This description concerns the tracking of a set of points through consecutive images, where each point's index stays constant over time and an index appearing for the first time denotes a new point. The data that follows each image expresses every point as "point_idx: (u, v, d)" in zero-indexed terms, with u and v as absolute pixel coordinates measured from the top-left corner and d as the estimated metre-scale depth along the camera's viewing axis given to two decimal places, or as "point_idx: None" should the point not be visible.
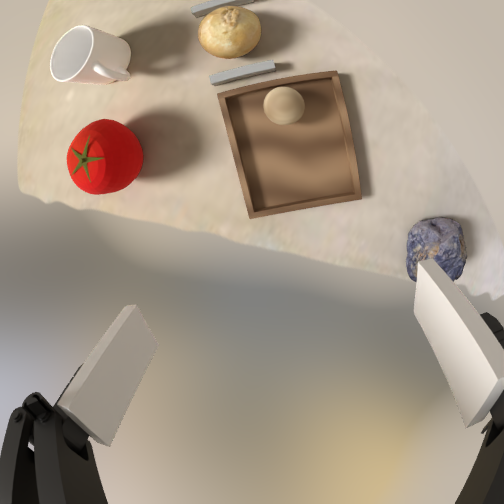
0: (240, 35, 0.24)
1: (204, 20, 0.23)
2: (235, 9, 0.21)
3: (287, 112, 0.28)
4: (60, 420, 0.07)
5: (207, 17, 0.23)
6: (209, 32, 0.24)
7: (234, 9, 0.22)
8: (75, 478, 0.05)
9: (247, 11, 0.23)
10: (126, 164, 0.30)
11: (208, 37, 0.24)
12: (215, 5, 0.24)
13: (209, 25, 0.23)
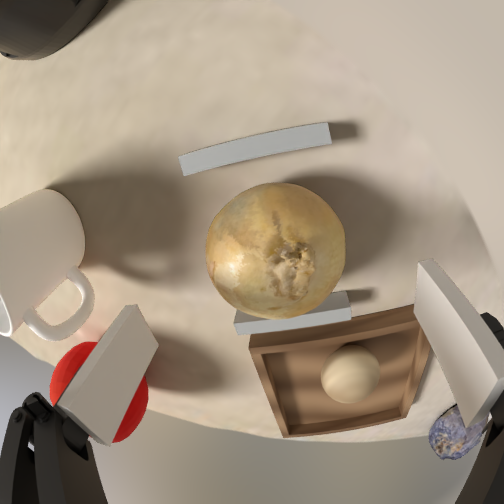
0: (306, 308, 0.14)
1: (220, 253, 0.13)
2: (306, 257, 0.11)
3: (355, 402, 0.18)
4: (60, 420, 0.07)
5: (227, 247, 0.13)
6: (236, 298, 0.14)
7: (303, 256, 0.12)
8: (75, 478, 0.05)
9: (329, 236, 0.13)
10: (133, 424, 0.21)
11: (234, 302, 0.14)
12: (238, 161, 0.14)
13: (235, 283, 0.13)
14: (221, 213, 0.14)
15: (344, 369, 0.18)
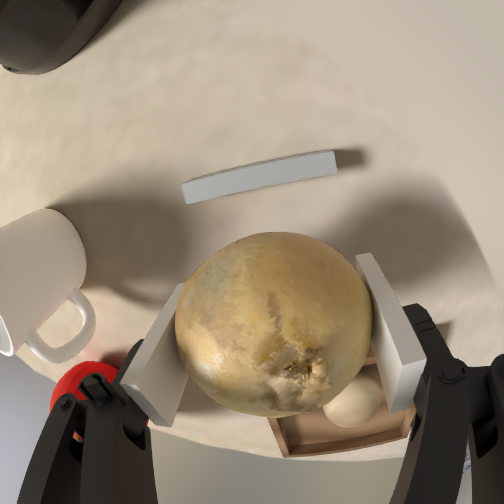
0: None
1: (190, 346, 0.08)
2: (320, 373, 0.07)
3: (356, 426, 0.17)
4: (121, 405, 0.07)
5: (199, 341, 0.08)
6: (217, 400, 0.09)
7: (315, 372, 0.07)
8: (129, 473, 0.05)
9: (355, 327, 0.08)
10: None
11: (215, 400, 0.09)
12: None
13: (213, 388, 0.08)
14: (192, 282, 0.09)
15: (345, 395, 0.17)
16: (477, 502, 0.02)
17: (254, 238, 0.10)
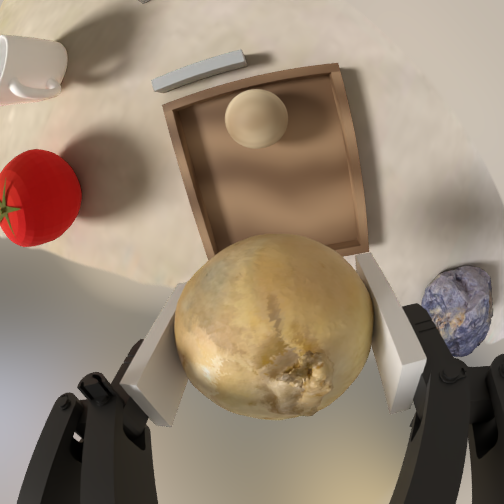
0: None
1: (189, 349, 0.08)
2: (320, 376, 0.07)
3: (258, 130, 0.18)
4: (120, 404, 0.07)
5: (199, 344, 0.08)
6: (216, 403, 0.09)
7: (316, 375, 0.07)
8: (129, 473, 0.05)
9: (355, 330, 0.08)
10: (51, 212, 0.21)
11: (214, 402, 0.09)
12: None
13: (212, 391, 0.08)
14: (192, 284, 0.09)
15: (240, 94, 0.18)
16: (477, 502, 0.02)
17: (254, 240, 0.09)
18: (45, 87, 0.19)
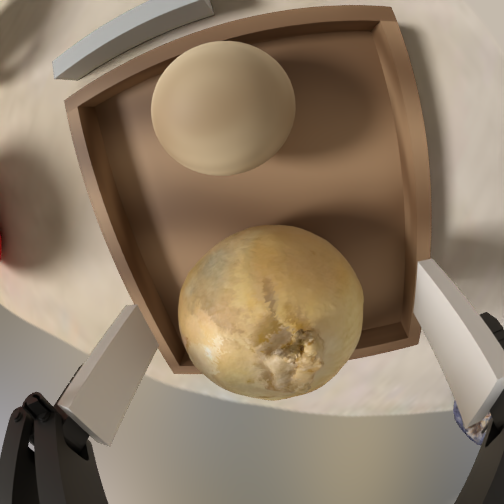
0: (308, 392, 0.10)
1: (192, 330, 0.09)
2: (311, 352, 0.07)
3: (219, 135, 0.07)
4: (60, 420, 0.07)
5: (201, 325, 0.09)
6: (217, 383, 0.10)
7: (307, 351, 0.07)
8: (75, 478, 0.05)
9: (344, 312, 0.09)
10: None
11: (215, 383, 0.10)
12: None
13: (213, 370, 0.09)
14: (194, 272, 0.10)
15: None
16: None
17: (251, 230, 0.10)
18: None
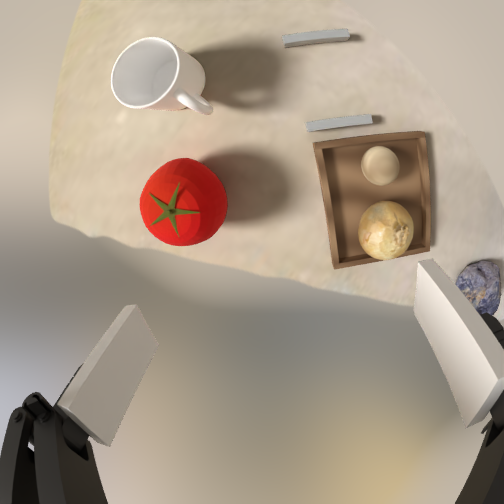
0: (402, 252, 0.31)
1: (374, 228, 0.31)
2: (407, 229, 0.29)
3: (388, 177, 0.28)
4: (60, 420, 0.07)
5: (378, 225, 0.30)
6: (379, 247, 0.31)
7: (406, 228, 0.29)
8: (75, 478, 0.05)
9: (410, 222, 0.30)
10: (219, 216, 0.31)
11: (376, 249, 0.32)
12: (311, 39, 0.25)
13: (381, 239, 0.31)
14: (370, 212, 0.32)
15: (375, 150, 0.28)
16: None
17: (383, 201, 0.32)
18: None
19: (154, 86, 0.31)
